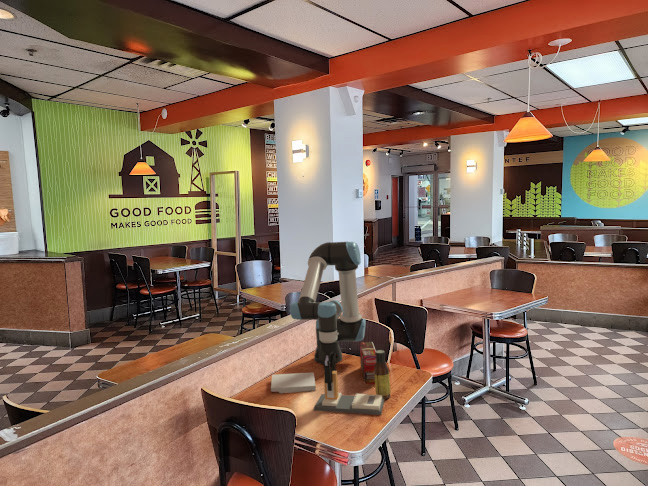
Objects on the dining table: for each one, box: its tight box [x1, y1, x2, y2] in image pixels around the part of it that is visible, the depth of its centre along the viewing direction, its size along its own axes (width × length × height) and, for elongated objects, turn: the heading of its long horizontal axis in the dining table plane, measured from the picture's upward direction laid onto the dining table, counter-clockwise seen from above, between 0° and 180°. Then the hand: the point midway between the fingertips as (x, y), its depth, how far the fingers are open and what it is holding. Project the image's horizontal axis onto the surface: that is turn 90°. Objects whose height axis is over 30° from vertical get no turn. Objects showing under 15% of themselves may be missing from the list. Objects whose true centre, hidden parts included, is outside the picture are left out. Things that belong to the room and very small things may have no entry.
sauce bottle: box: [374, 349, 392, 400], centre depth 183 cm, size 6×6×20 cm
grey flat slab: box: [270, 372, 316, 394], centre depth 200 cm, size 15×3×20 cm
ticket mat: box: [313, 393, 385, 416], centre depth 177 cm, size 12×27×3 cm, turn 76°
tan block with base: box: [322, 370, 343, 406], centre depth 178 cm, size 10×6×12 cm, turn 166°
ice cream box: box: [359, 341, 377, 385], centre depth 207 cm, size 20×6×13 cm, turn 1°
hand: (331, 395), depth 179 cm, fingers closed on tan block with base, 3 cm apart
